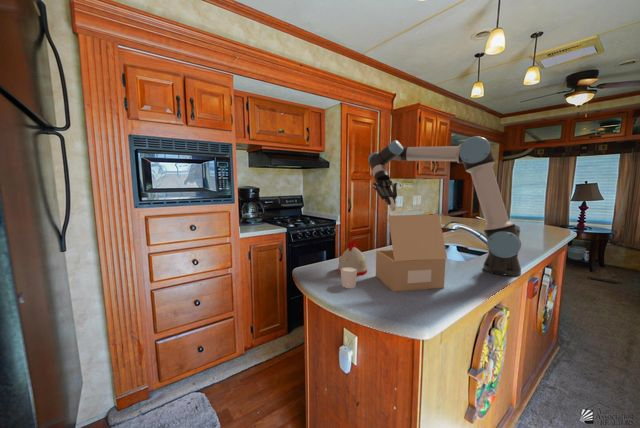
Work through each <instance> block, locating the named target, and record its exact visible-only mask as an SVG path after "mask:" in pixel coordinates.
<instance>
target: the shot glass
mask: <svg viewBox="0 0 640 428" xmlns="http://www.w3.org/2000/svg"><path fill="white" fill-rule="evenodd" d="M357 277H358V276H357V269H356V268H352V267H344V268H341V273H340V279H341V287H343V288H344V287H345V288H346V289H354V288H355V287H357V286H356V285H357V283H356V282H357ZM345 288H344V289H345Z"/></svg>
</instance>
